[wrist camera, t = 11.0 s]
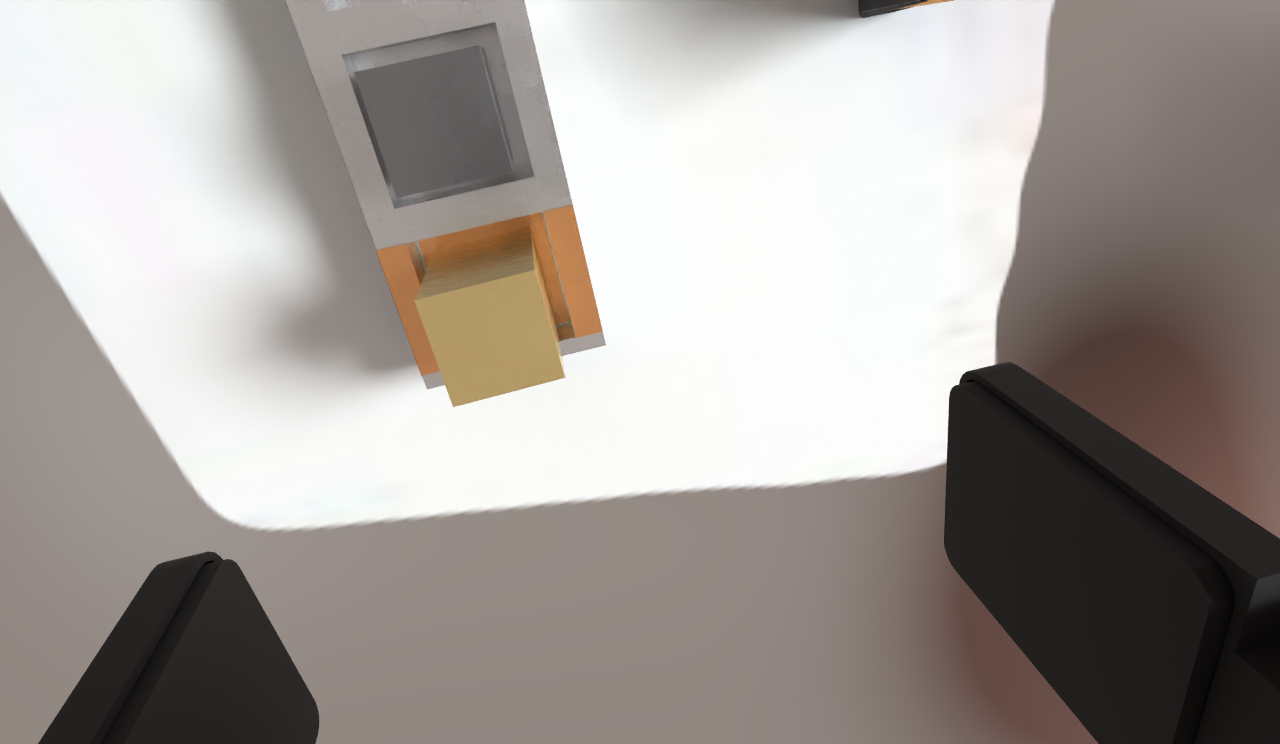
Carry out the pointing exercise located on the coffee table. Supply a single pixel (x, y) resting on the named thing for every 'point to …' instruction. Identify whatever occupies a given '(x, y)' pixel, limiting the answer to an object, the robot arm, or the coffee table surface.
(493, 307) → the gold brushed block
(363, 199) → the rail
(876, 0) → the ammunition clip
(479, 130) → the grey brushed cube
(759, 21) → the coffee table surface
